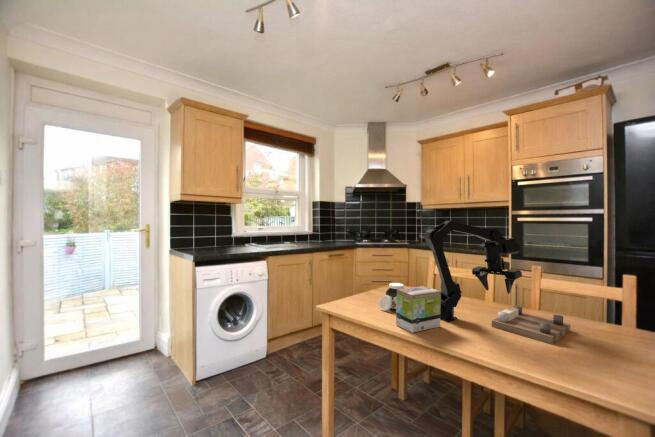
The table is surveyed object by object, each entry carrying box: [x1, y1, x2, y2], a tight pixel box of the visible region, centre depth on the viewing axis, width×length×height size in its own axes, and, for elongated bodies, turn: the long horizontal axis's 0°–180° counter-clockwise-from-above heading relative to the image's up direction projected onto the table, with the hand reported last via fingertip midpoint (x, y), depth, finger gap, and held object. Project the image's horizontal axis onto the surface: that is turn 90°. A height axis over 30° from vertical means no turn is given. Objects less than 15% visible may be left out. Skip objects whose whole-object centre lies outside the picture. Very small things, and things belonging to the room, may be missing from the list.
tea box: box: [395, 285, 441, 334], centre depth 117 cm, size 15×10×15 cm, turn 117°
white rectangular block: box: [497, 307, 518, 322], centre depth 118 cm, size 12×4×3 cm, turn 126°
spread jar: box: [378, 282, 405, 312], centre depth 138 cm, size 12×11×12 cm
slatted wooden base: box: [491, 305, 571, 345], centre depth 114 cm, size 20×20×6 cm
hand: (497, 291), depth 126 cm, fingers open, 9 cm apart
